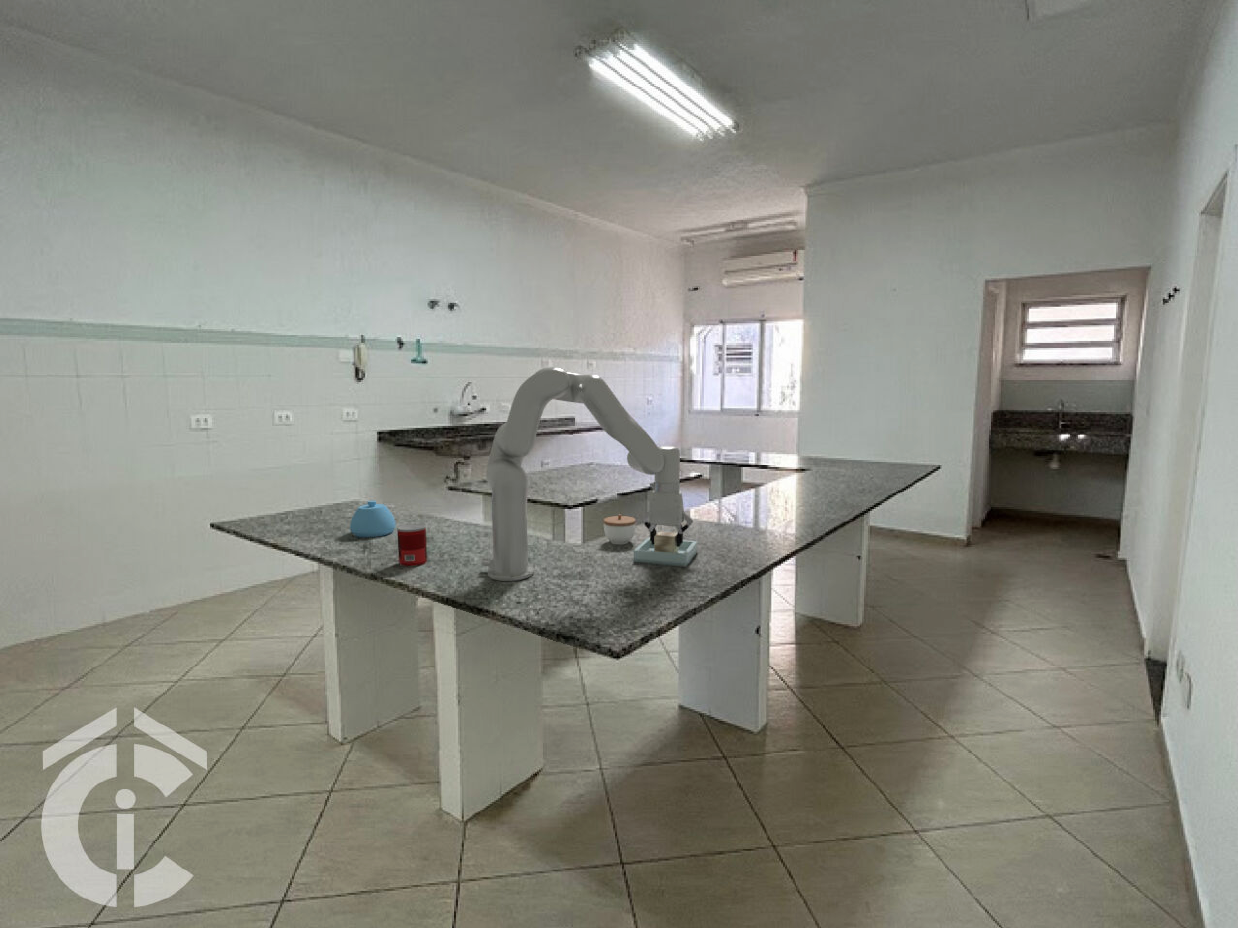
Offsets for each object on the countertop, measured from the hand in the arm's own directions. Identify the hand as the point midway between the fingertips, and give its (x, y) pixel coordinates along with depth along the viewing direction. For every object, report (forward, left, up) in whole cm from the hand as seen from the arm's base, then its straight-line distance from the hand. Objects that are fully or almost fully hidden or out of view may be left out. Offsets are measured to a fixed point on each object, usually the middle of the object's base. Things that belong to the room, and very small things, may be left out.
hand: (666, 544), depth 188 cm
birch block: (0, 0, -3) cm, 3 cm away
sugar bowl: (-106, -3, -4) cm, 106 cm away
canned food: (-70, -29, -4) cm, 76 cm away
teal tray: (0, 0, -4) cm, 4 cm away
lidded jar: (-19, +12, -4) cm, 23 cm away
